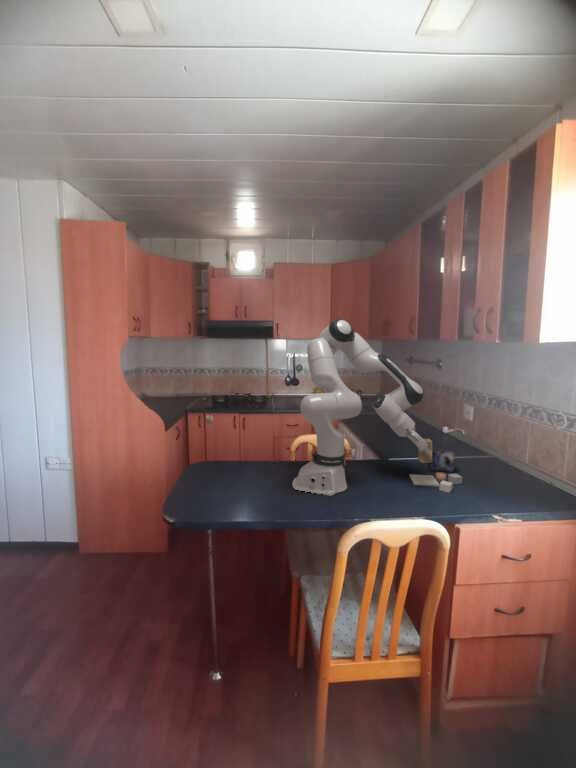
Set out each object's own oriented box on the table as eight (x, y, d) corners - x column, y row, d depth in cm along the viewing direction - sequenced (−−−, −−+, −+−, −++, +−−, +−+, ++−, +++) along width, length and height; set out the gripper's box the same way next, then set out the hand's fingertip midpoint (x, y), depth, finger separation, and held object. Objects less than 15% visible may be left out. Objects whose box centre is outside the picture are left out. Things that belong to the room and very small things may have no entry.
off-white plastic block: (439, 490, 148) (439, 483, 147) (442, 487, 151) (442, 480, 150) (449, 493, 145) (450, 485, 145) (452, 489, 148) (452, 482, 148)
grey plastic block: (453, 484, 154) (453, 477, 154) (447, 480, 158) (448, 474, 157) (461, 483, 154) (462, 477, 154) (456, 480, 158) (456, 473, 158)
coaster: (414, 485, 152) (414, 483, 152) (409, 476, 162) (409, 474, 162) (439, 486, 151) (439, 484, 151) (432, 477, 161) (432, 475, 161)
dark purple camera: (429, 471, 168) (430, 449, 167) (427, 466, 175) (428, 445, 173) (454, 473, 166) (455, 451, 164) (451, 468, 172) (452, 446, 171)
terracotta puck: (437, 482, 156) (437, 475, 156) (434, 478, 160) (434, 471, 160) (446, 482, 156) (447, 475, 155) (444, 478, 160) (444, 472, 159)
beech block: (421, 462, 154) (421, 442, 153) (418, 458, 159) (418, 438, 157) (432, 462, 154) (432, 441, 152) (429, 458, 158) (429, 438, 157)
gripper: (417, 428, 144) (440, 452, 145) (403, 416, 164) (424, 437, 165) (404, 438, 145) (428, 463, 146) (393, 425, 165) (414, 447, 166)
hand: (426, 449), depth 155 cm, fingers closed on beech block, 5 cm apart
